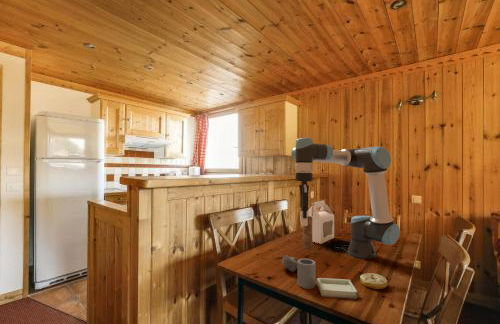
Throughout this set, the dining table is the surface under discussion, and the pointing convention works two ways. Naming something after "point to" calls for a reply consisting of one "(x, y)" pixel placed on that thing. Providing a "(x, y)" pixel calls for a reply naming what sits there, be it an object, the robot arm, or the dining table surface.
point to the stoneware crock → (306, 273)
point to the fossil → (289, 263)
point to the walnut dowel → (307, 235)
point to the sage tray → (336, 288)
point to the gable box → (321, 222)
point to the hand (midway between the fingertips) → (303, 224)
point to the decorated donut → (373, 281)
